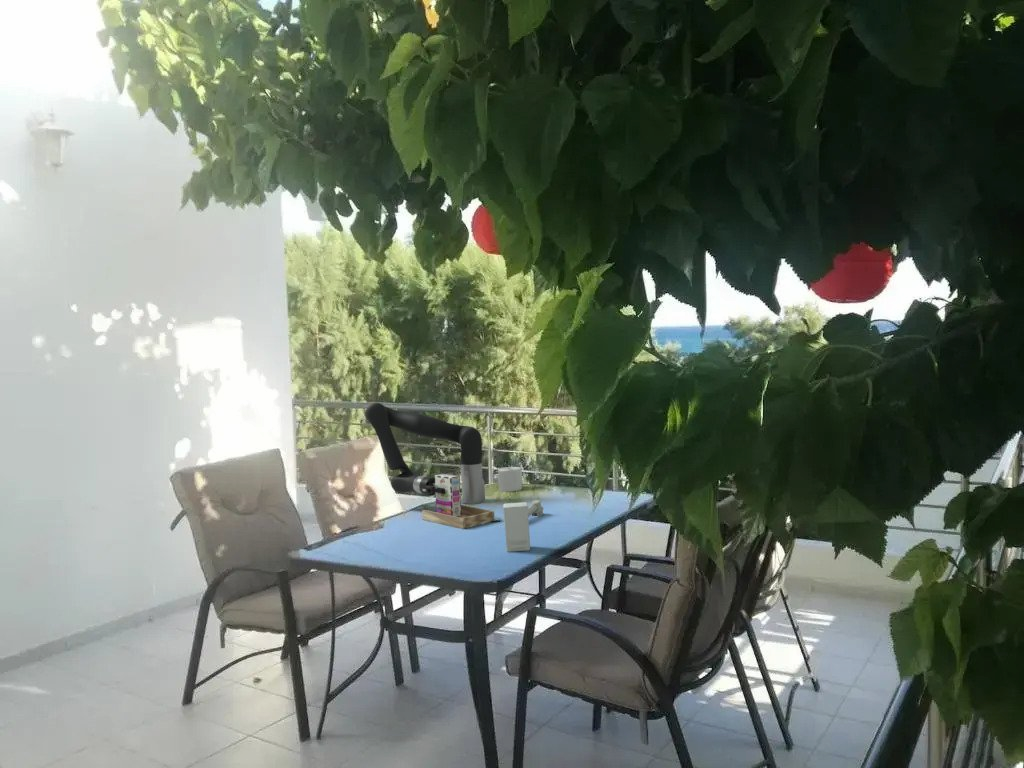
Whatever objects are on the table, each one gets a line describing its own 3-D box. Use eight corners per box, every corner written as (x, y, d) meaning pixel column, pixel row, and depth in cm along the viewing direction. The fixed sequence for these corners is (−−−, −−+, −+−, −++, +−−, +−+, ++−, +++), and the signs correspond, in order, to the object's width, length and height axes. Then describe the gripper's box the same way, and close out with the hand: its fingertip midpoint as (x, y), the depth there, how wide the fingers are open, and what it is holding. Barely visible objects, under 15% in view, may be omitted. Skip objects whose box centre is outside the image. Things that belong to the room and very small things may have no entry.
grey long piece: (506, 518, 313) (532, 496, 335) (507, 534, 314) (534, 511, 336) (518, 518, 310) (544, 496, 332) (520, 535, 312) (546, 512, 334)
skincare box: (529, 546, 284) (527, 501, 283) (530, 551, 278) (528, 505, 277) (505, 547, 284) (503, 502, 283) (505, 552, 278) (503, 506, 277)
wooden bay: (453, 512, 344) (453, 503, 343) (494, 521, 324) (494, 511, 324) (422, 519, 333) (422, 510, 332) (463, 529, 314) (462, 518, 313)
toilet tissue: (523, 487, 394) (522, 466, 393) (520, 492, 382) (519, 470, 381) (501, 487, 395) (500, 467, 394) (497, 492, 383) (496, 471, 383)
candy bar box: (462, 516, 330) (460, 475, 329) (452, 518, 327) (450, 477, 326) (445, 512, 338) (443, 473, 337) (435, 514, 335) (433, 474, 334)
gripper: (411, 479, 338) (436, 483, 325) (439, 474, 347) (464, 477, 335) (412, 497, 338) (437, 502, 326) (440, 491, 348) (465, 496, 335)
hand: (451, 489), depth 330 cm, fingers open, 6 cm apart
